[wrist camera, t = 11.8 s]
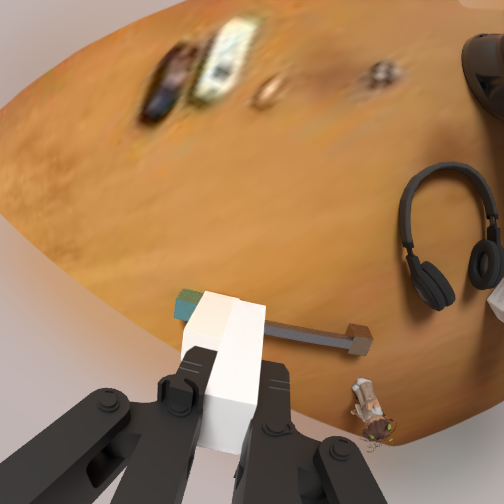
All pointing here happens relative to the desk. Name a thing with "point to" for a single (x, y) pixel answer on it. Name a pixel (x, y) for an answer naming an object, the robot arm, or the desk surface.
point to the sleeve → (207, 322)
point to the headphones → (483, 254)
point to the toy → (371, 412)
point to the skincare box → (498, 300)
